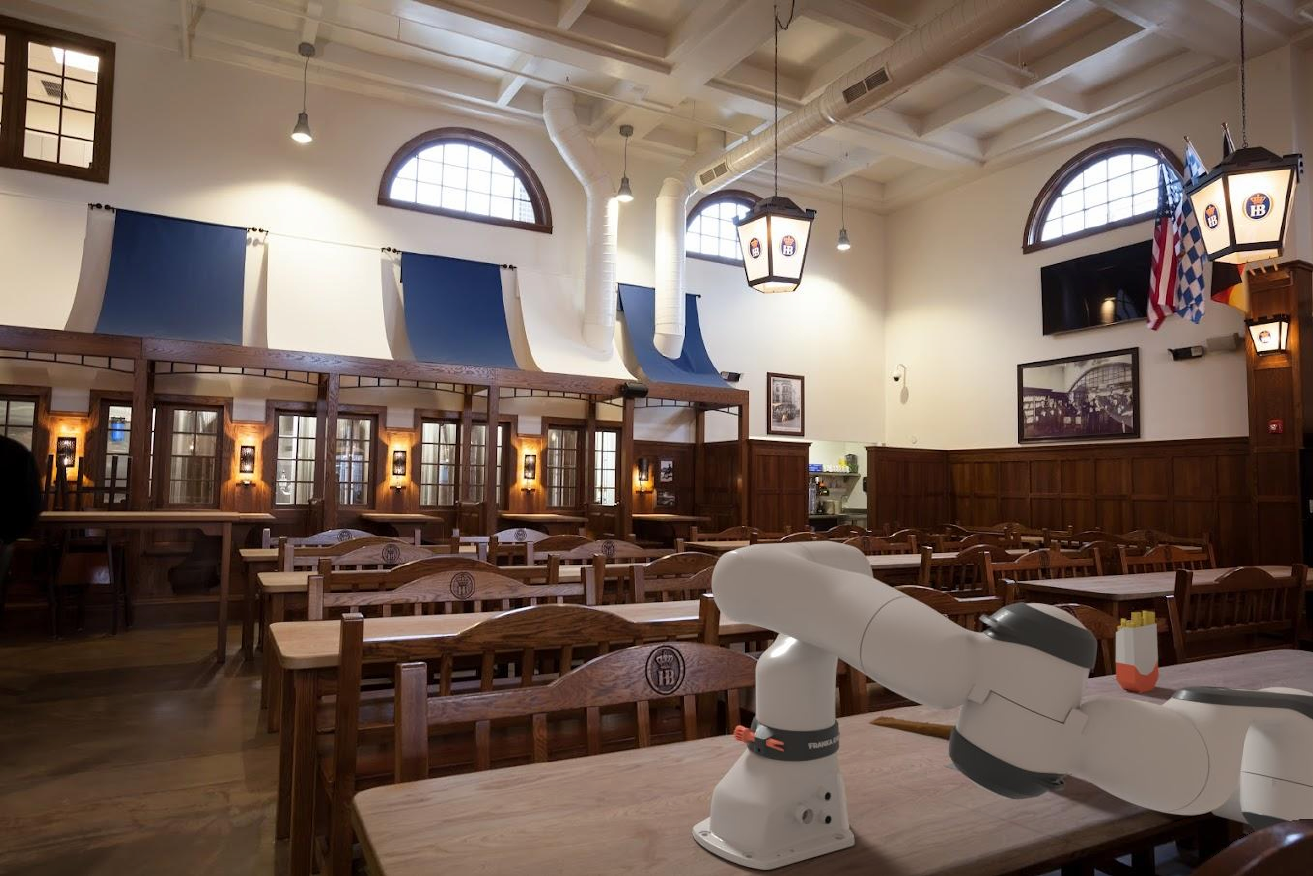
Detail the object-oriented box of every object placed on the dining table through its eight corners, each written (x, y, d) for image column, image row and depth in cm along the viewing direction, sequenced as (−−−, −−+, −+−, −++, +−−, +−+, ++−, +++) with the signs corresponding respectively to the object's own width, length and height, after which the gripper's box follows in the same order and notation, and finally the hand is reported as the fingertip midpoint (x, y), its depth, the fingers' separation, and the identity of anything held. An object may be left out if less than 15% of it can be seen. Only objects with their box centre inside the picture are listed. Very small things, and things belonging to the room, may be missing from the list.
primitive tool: (867, 725, 157) (867, 707, 157) (880, 719, 161) (880, 702, 161) (963, 747, 144) (963, 728, 144) (975, 740, 148) (975, 721, 148)
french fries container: (1114, 690, 182) (1112, 611, 184) (1138, 683, 188) (1135, 607, 189) (1135, 694, 179) (1132, 614, 180) (1159, 687, 185) (1156, 610, 186)
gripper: (1207, 829, 101) (1092, 797, 111) (1252, 790, 114) (1145, 764, 125) (1205, 779, 101) (1090, 751, 112) (1249, 745, 114) (1143, 724, 125)
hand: (1119, 758), depth 118 cm, fingers closed
